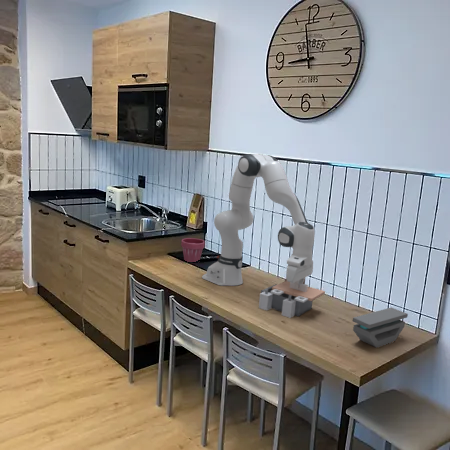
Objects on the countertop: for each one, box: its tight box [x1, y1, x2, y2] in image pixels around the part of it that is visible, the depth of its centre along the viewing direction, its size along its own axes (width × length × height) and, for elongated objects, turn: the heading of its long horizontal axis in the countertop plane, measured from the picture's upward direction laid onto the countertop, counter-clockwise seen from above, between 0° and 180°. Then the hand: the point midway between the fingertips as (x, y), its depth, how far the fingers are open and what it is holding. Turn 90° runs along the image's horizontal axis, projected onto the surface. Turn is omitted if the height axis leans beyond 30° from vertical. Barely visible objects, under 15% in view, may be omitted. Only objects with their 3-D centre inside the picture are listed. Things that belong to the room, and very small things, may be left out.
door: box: [271, 280, 326, 303], centre depth 218 cm, size 20×18×4 cm
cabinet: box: [258, 283, 313, 319], centre depth 222 cm, size 20×18×9 cm
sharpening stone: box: [352, 307, 409, 348], centre depth 193 cm, size 25×8×11 cm, turn 126°
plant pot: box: [180, 237, 206, 263], centre depth 289 cm, size 14×14×13 cm
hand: (298, 287), depth 219 cm, fingers closed on door, 2 cm apart
